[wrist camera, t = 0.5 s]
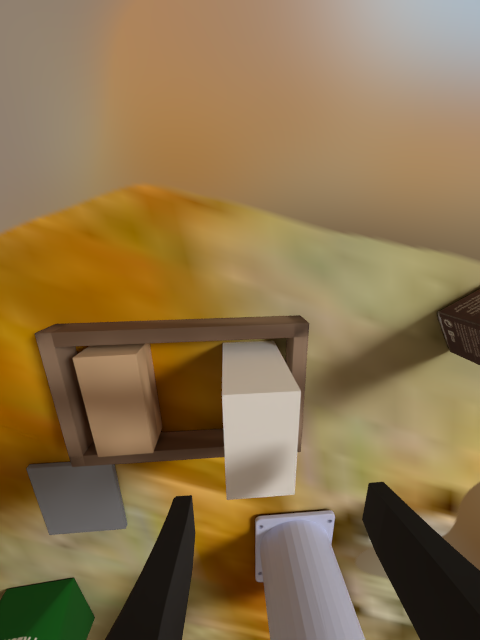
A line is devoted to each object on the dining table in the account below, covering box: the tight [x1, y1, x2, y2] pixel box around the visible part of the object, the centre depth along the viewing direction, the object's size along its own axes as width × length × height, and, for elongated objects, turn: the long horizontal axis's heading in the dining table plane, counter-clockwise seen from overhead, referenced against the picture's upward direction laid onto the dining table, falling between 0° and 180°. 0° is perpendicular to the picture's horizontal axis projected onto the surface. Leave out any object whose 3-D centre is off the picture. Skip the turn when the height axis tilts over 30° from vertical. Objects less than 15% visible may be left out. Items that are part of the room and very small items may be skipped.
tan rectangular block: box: [73, 343, 162, 457], centre depth 18 cm, size 8×4×3 cm, turn 2°
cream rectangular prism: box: [222, 341, 301, 500], centre depth 16 cm, size 7×4×7 cm, turn 1°
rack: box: [35, 316, 309, 467], centre depth 18 cm, size 11×18×2 cm, turn 91°
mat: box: [26, 462, 127, 535], centre depth 22 cm, size 8×7×1 cm
